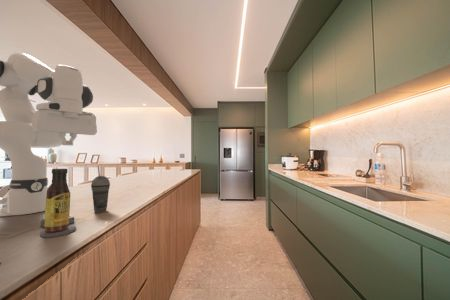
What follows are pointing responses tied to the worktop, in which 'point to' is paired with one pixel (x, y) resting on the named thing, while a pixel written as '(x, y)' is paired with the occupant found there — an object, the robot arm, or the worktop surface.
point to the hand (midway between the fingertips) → (67, 145)
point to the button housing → (71, 220)
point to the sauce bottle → (57, 202)
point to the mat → (58, 232)
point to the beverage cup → (100, 193)
